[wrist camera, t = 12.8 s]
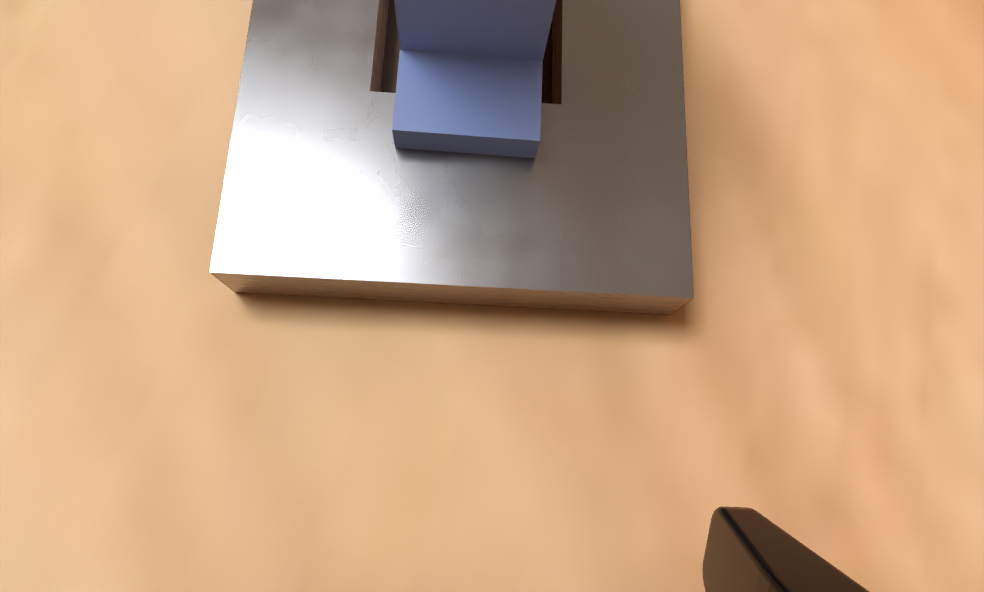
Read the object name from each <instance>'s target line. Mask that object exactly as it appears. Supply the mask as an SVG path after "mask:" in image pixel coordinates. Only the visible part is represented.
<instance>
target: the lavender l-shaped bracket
mask: <svg viewBox="0 0 984 592" xmlns="http://www.w3.org/2000/svg"><path fill="white" fill-rule="evenodd" d="M555 4H556V0H394V5H395V13H396V21H397V29H398V38H399V46H400V54H399V64H398V74H397V84H396V94H395V104H394V114H393V124H392V133H393V139H394V145H395V148H404V149H418V150H431V151H445V152H458V153H472V154H485V155H499V156H512V157H526V158H536V154H537V150H538V147H539V143H540V128H541V97H542V66H543V57H544V53H545V48H546V44H547V40H548V35H549V31H550V26H551V22H552V18H553V13H554V9H555Z"/></svg>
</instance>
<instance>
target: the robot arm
mask: <svg viewBox="0 0 984 592" xmlns="http://www.w3.org/2000/svg"><path fill="white" fill-rule="evenodd" d="M703 581H704V587H705V591H706V592H869V591H868V590H866V589H865V588H864V587H862V586H861V585H859V584H858V583H857V582H855V581H854V580H852V579H851V578H850V577H848V576H847V575H845V574H844V573H843V572H841V571H840V570H838V569H837V568H836V567H834V566H833V565H831V564H830V563H829V562H827V561H826V560H824V559H823V558H821V557H820V556H819V555H817V554H816V553H814V552H813V551H812V550H810V549H809V548H807V547H806V546H805V545H803V544H802V543H800V542H799V541H798V540H796V539H795V538H793V537H792V536H791V535H789V534H788V533H786V532H785V531H784V530H782V529H781V528H779V527H778V526H777V525H775V524H774V523H772V522H771V521H770V520H768V519H767V518H765V517H764V516H763V515H761V514H760V513H758V512H757V511H755V510H754V509H751V508H744V507H719V508H717V509H716V510H715V511H714V513H713V515H712V519H711V523H710V529H709V534H708V539H707V544H706V550H705V555H704V560H703Z"/></svg>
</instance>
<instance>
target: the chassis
mask: <svg viewBox="0 0 984 592" xmlns="http://www.w3.org/2000/svg"><path fill="white" fill-rule="evenodd" d="M388 11H389V0H253V4H252V10H251V16H250V23H249V29H248V35H247V41H246V48H245V54H244V60H243V66H242V72H241V79H240V85H239V91H238V97H237V104H236V110H235V116H234V122H233V128H232V135H231V141H230V147H229V153H228V160H227V166H226V172H225V178H224V184H223V191H222V197H221V203H220V209H219V216H218V222H217V228H216V234H215V240H214V247H213V253H212V259H211V265H210V273H211V274H212V275H214V276H215V277H216V278H217V279H219V280H220V281H221V282H222V283H224V284H225V285H226V286H227V287H229V288H230V289H231V290H232V291H234V292H241V293H260V294H279V295H298V296H318V297H337V298H356V299H375V300H395V301H414V302H433V303H452V304H472V305H491V306H510V307H530V308H549V309H568V310H587V311H607V312H626V313H645V314H664V315H670V314H671V313H673V312H674V311H676V310H677V309H678V308H680V307H681V306H683V305H684V304H686V303H687V302H689V301H690V300H692V299H693V298H694V296H693V274H692V253H691V231H690V210H689V188H688V167H687V146H686V124H685V103H684V81H683V60H682V38H681V17H680V0H556V4H555V9H554V13H553V47H552V104H549V103H541V128H540V143H539V147H538V150H537V154H536V158H526V157H512V156H499V155H485V154H472V153H458V152H445V151H431V150H418V149H404V148H395V145H394V139H393V133H392V124H393V114H394V104H395V94H396V93H388V92H381V85H382V74H383V64H384V53H385V42H386V32H387V21H388Z"/></svg>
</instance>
